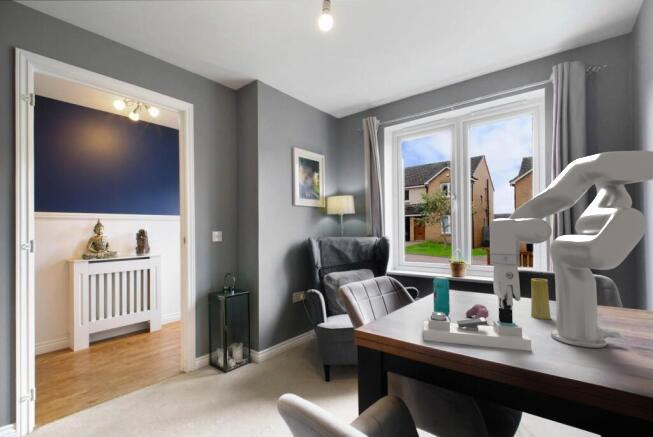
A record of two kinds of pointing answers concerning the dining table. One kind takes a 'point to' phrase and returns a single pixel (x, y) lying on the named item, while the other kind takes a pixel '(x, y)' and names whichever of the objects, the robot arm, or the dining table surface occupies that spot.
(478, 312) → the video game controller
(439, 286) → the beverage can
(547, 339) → the dining table surface
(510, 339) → the control panel
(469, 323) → the rocker switch
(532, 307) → the vase
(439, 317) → the steel button
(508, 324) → the teal button
